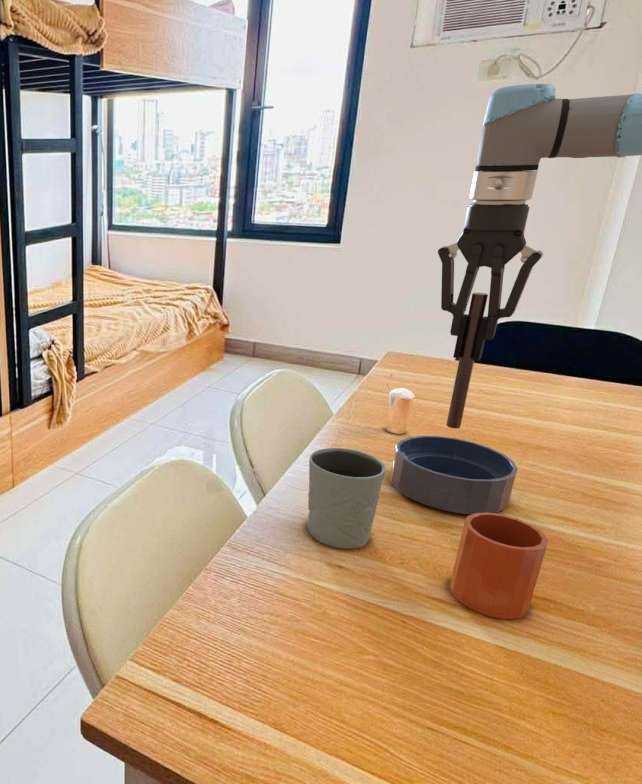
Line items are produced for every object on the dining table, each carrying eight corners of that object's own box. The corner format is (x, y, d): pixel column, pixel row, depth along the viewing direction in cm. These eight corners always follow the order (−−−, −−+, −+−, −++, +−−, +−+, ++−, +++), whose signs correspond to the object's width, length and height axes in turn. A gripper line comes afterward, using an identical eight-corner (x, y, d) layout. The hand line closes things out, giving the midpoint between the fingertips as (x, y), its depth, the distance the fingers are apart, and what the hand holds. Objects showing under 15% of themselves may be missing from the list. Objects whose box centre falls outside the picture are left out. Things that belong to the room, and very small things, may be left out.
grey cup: (376, 557, 89) (389, 482, 85) (300, 544, 92) (310, 471, 88) (369, 521, 98) (381, 451, 94) (300, 510, 101) (309, 443, 97)
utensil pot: (531, 594, 81) (551, 527, 77) (523, 629, 75) (543, 558, 72) (457, 569, 86) (472, 505, 83) (443, 599, 80) (459, 532, 77)
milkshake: (381, 424, 134) (388, 380, 130) (409, 429, 131) (417, 384, 128) (377, 431, 130) (384, 386, 127) (405, 437, 127) (414, 390, 124)
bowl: (514, 487, 107) (523, 453, 105) (498, 529, 95) (508, 492, 93) (404, 459, 118) (410, 428, 116) (377, 494, 106) (383, 459, 104)
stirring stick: (461, 425, 103) (489, 293, 96) (458, 429, 102) (486, 295, 94) (447, 423, 104) (473, 292, 97) (444, 426, 103) (471, 294, 96)
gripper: (434, 203, 93) (408, 354, 101) (561, 204, 84) (521, 371, 92) (445, 200, 99) (420, 344, 107) (566, 201, 89) (528, 360, 97)
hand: (467, 357), depth 99 cm, fingers closed on stirring stick, 2 cm apart
